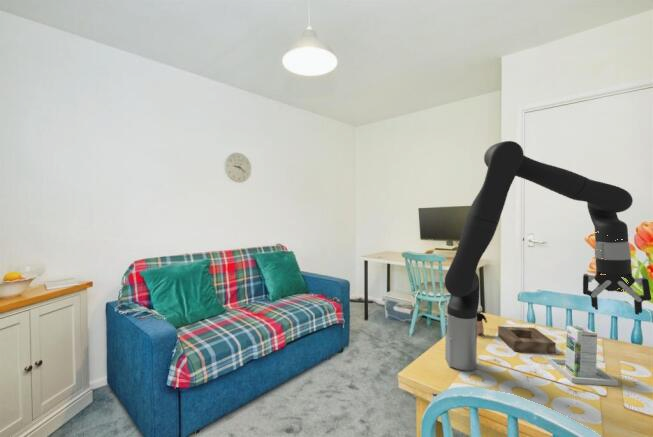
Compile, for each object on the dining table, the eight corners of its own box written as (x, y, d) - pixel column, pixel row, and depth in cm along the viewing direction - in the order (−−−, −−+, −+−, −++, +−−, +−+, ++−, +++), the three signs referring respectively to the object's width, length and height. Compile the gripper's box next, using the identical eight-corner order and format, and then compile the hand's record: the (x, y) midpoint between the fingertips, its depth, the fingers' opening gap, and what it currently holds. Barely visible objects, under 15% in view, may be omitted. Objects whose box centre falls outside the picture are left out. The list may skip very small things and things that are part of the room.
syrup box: (564, 368, 99) (565, 325, 99) (584, 369, 98) (584, 325, 98) (576, 377, 94) (577, 332, 93) (597, 379, 93) (598, 333, 92)
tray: (571, 382, 91) (571, 378, 91) (547, 362, 103) (547, 357, 103) (617, 386, 89) (617, 381, 89) (587, 364, 101) (587, 360, 101)
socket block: (514, 351, 111) (514, 340, 111) (498, 335, 125) (498, 326, 125) (555, 353, 109) (555, 343, 109) (534, 337, 123) (534, 328, 123)
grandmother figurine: (481, 331, 129) (481, 302, 129) (488, 335, 125) (488, 305, 125) (467, 334, 127) (467, 304, 126) (474, 337, 123) (474, 307, 123)
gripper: (580, 257, 89) (583, 311, 90) (649, 259, 80) (653, 319, 80) (581, 253, 95) (584, 304, 95) (646, 255, 85) (649, 311, 86)
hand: (616, 311), depth 88 cm, fingers open, 8 cm apart
